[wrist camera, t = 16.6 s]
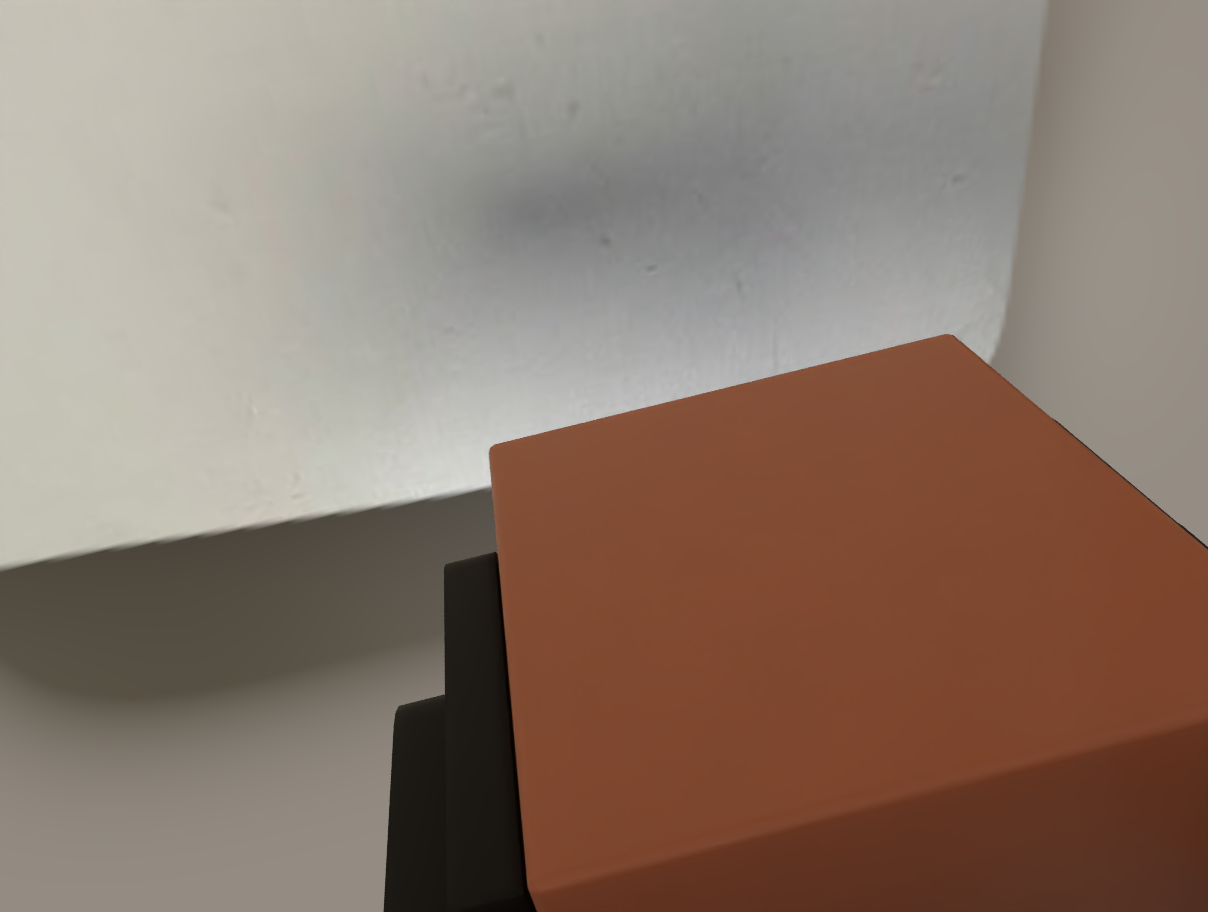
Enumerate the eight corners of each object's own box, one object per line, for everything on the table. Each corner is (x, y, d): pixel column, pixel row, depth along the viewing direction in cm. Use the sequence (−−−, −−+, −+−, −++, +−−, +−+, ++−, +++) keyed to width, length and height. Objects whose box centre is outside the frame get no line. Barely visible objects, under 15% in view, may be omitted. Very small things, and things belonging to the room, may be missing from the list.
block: (952, 328, 10) (1365, 673, 5) (952, 671, 12) (1232, 1094, 8) (485, 442, 9) (524, 892, 5) (584, 766, 12) (663, 1248, 8)
